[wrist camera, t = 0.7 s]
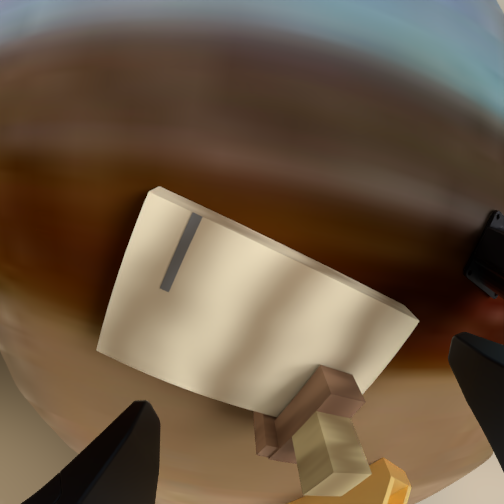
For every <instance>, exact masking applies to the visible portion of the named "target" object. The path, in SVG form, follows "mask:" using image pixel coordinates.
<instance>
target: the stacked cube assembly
mask: <svg viewBox="0 0 504 504" xmlns="http://www.w3.org/2000/svg"><path fill="white" fill-rule="evenodd" d="M364 403H365V400H364V398H363V396H362V393H361V391H360V389H359V387H358V385H357V383H356V381H355V379H354V377H353V375H352V374H348V373H345V372H342V371H338V370H335V369H332V368H329V367H326V366H323V365H320V366H319V367H318V369H317V370H316V371H315V372H314V374H313V375H312V376H311V377H310V379H309V380H308V381H307V383H306V384H305V385H304V386H303V388H302V389H301V390H300V391H299V392H298V394H297V395H296V396H295V397H294V398H293V400H292V401H291V402H290V403H289V404H288V406H287V407H286V408H285V409H284V410H283V412H282V413H281V414H280V415H279V416H278V417H274V416H270V415H266V414H263V413H259V412H255V411H253V417H254V430H255V442H256V454H257V455H259V456H264V457H268V459H270V460H276V461H282V462H288V463H295V464H297V466H298V471H299V477H300V482H301V487H302V492H303V495H308V496H342V495H344V494H345V493H347V492H348V491H350V490H351V489H352V488H354V487H355V486H357V485H358V484H359V483H361V482H362V481H363V480H365V479H366V478H367V477H369V476H370V475H371V474H372V472H371V470H370V467H369V464H368V462H367V459H366V457H365V454H364V451H363V449H362V446H361V444H360V441H359V438H358V436H357V433H356V431H355V428H354V426H353V423H352V421H351V417H352V416H353V415H354V414H355V413H356V412H357V411H358V410H359V409H360V408H361V407H362V406H363V405H364Z"/></svg>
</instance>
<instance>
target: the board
mask: <svg viewBox="0 0 504 504" xmlns="http://www.w3.org/2000/svg"><path fill="white" fill-rule="evenodd" d="M418 323H419V320H418V319H417V318H416V317H415V316H414V315H413V314H412V313H411V312H410V310H409V309H408V308H407V307H406V306H405V305H403V304H401V303H399V302H397V301H395V300H393V299H391V298H389V297H387V296H385V295H383V294H381V293H379V292H377V291H375V290H373V289H371V288H369V287H367V286H365V285H363V284H361V283H359V282H357V281H355V280H353V279H351V278H349V277H347V276H345V275H343V274H341V273H339V272H337V271H335V270H333V269H331V268H329V267H327V266H325V265H323V264H321V263H319V262H317V261H315V260H313V259H311V258H309V257H307V256H305V255H303V254H301V253H299V252H297V251H295V250H293V249H291V248H289V247H287V246H285V245H283V244H281V243H278V242H276V241H274V240H272V239H270V238H268V237H266V236H264V235H262V234H260V233H258V232H256V231H254V230H252V229H249V228H247V227H245V226H243V225H241V224H239V223H237V222H235V221H233V220H231V219H228V218H226V217H224V216H222V215H220V214H218V213H216V212H214V211H212V210H209V209H207V208H205V207H203V206H201V205H199V204H197V203H194V202H192V201H190V200H188V199H186V198H184V197H182V196H179V195H177V194H175V193H173V192H171V191H169V190H166V189H164V188H162V187H160V186H159V187H157V188H155V189H153V190H151V191H149V192H148V194H147V197H146V199H145V202H144V204H143V207H142V209H141V212H140V214H139V217H138V219H137V222H136V225H135V227H134V230H133V233H132V235H131V238H130V241H129V243H128V246H127V249H126V252H125V255H124V258H123V261H122V264H121V267H120V270H119V273H118V276H117V279H116V282H115V285H114V288H113V292H112V295H111V298H110V301H109V305H108V308H107V312H106V315H105V319H104V323H103V326H102V330H101V334H100V338H99V342H98V346H97V350H96V351H98V352H100V353H102V354H104V355H106V356H108V357H111V358H113V359H115V360H117V361H119V362H121V363H123V364H126V365H128V366H130V367H132V368H134V369H137V370H139V371H141V372H144V373H146V374H148V375H151V376H153V377H156V378H158V379H161V380H163V381H166V382H168V383H171V384H173V385H176V386H179V387H181V388H184V389H187V390H189V391H192V392H195V393H198V394H201V395H204V396H206V397H209V398H212V399H215V400H219V401H222V402H225V403H228V404H231V405H235V406H238V407H241V408H245V409H248V410H252V411H255V412H259V413H263V414H266V415H270V416H274V417H278V416H279V415H280V414H281V413H282V412H283V410H284V409H285V408H286V407H287V406H288V404H289V403H290V402H291V401H292V400H293V398H294V397H295V396H296V395H297V394H298V392H299V391H300V390H301V389H302V388H303V386H304V385H305V384H306V383H307V381H308V380H309V379H310V377H311V376H312V375H313V374H314V372H315V371H316V370H317V369H318V367H319V366H320V365H323V366H326V367H329V368H332V369H335V370H338V371H342V372H345V373H348V374H352V375H353V377H354V379H355V381H356V383H357V385H358V387H359V389H360V391H361V393H362V394H363V393H364V392H365V391H366V390H367V389H368V388H369V386H370V385H371V384H372V383H373V382H374V380H375V379H376V378H377V377H378V376H379V374H380V373H381V372H382V371H383V370H384V368H385V367H386V366H387V365H388V363H389V362H390V361H391V360H392V358H393V357H394V356H395V354H396V353H397V352H398V350H399V349H400V348H401V346H402V345H403V344H404V342H405V341H406V340H407V338H408V337H409V336H410V334H411V333H412V331H413V330H414V329H415V327H416V326H417V324H418Z"/></svg>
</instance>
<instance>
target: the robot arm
mask: <svg viewBox="0 0 504 504" xmlns="http://www.w3.org/2000/svg"><path fill="white" fill-rule="evenodd" d="M496 216H497V217H496ZM464 276H466V277H467V278H468V279H469V280H471V281H472V282H473V283H475V284H476V285H477V286H478V287H480V288H481V289H482V290H483V291H485V292H486V293H487V294H488V295H489V296H491V297H492V298H493V299H495V298H497V296H498V295H499V296H500V297H502V298H503V299H504V216H503V215H502V213H501V212H500V211H497V210H494V211H493V213H492V215H491V217H490V220H489V222H488V224H487V226H486V228H485V230H484V232H483V234H482V236H481V239H480V241H479V243H478V245H477V246H476V248H475V250H474V252H473V254H472V256H471V258H470V260H469V262H468V263H467V265H466V267H465V269H464ZM448 360H449V364H450V366H451V368H452V371H453V373H454V375H455V377H456V379H457V381H458V383H459V386H460V388H461V390H462V392H463V395H464V397H465V399H466V401H467V403H468V405H469V406H470V408H471V410H472V412H473V413H474V415H475V417H476V419H477V421H478V422H479V424H480V426H481V428H482V430H483V432H484V434H485V435H486V437H487V439H488V441H489V443H490V445H491V447H492V449H493V451H494V453H495V455H496V457H497V459H498V461H499V463H500V465H501V467H502V470H503V472H504V345H501V344H499V343H496V342H493V341H490V340H487V339H484V338H481V337H478V336H476V335H473V334H470V333H467V332H462V333H459V334H457V335H455V336H453V338H452V341H451V346H450V351H449V356H448ZM159 461H160V420H159V418H158V416H157V414H156V412H155V411H154V409H153V407H152V405H151V404H150V402H149V401H146V400H141V401H134V402H133V403H132V404H131V405H130V406H129V407H128V408H127V409H126V410H125V411H124V412H123V413H121V414H120V415H119V416H118V417H117V418H116V419H115V420H114V421H113V422H112V423H111V424H110V425H109V426H108V427H107V428H106V429H105V430H104V431H103V432H102V433H101V434H100V435H99V436H98V437H96V438H95V439H94V440H93V441H92V442H91V443H90V444H89V445H88V446H87V447H86V448H85V449H84V450H83V451H82V452H81V453H80V454H78V455H77V457H75V458H74V459H73V460H72V461H71V462H70V463H69V464H68V465H67V466H66V467H65V468H64V469H62V470H61V472H60V473H58V474H57V475H56V476H55V477H54V478H53V479H51V480H50V481H49V482H48V483H47V484H46V485H45V486H43V487H42V488H41V489H40V490H39V491H37V492H36V493H35V494H34V495H32V496H31V497H29V498H28V499H27V500H25V501H24V502H22V503H21V504H155V498H156V490H157V482H158V475H159Z"/></svg>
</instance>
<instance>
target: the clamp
mask: <svg viewBox="0 0 504 504" xmlns="http://www.w3.org/2000/svg"><path fill="white" fill-rule="evenodd" d="M369 467H370V470H371V472H372V474H371V475H370V476H369V477H367V478H366V479H365V480H363V481H362V482H361V483H359V484H358V485H357V486H355V487H354V488H352V489H351V490H350V491H348V492H347V493H345V494H344V495H342V496H308V495H307V496H305V497H302V498H300V499H297V500H295V501H292V502H289V503H287V504H407V501H408V498H409V494H410V491H411V485H410V482H409V480H408V478H407V476H406V473H405V471H403V470H402V469H400V468H399V467H397V466H396V465H394V464H392V463H391V462H389V461H388V460H386V459H385V458H381V459H380V460H378V461H376V462H374V463H373V464H371V465H369Z"/></svg>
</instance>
